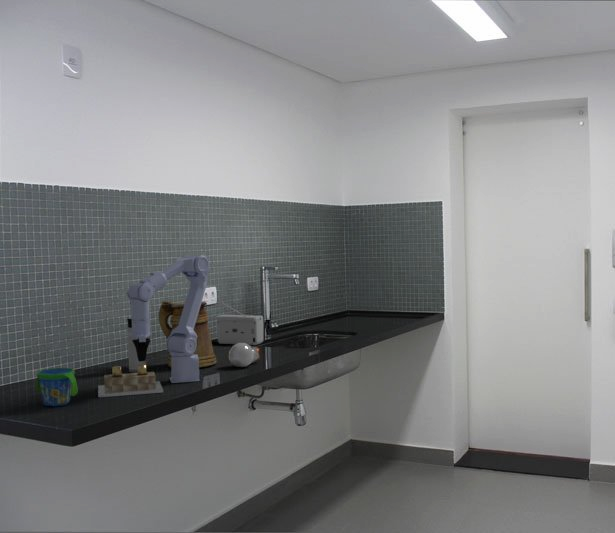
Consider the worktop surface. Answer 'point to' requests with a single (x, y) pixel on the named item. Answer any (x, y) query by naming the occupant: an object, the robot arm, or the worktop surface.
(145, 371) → the pin
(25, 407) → the worktop surface
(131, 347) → the travel mug
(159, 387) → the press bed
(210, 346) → the tankard
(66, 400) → the snack cup
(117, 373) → the pin
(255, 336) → the stereo radio cassette player
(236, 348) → the potion bottle
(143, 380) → the housing
